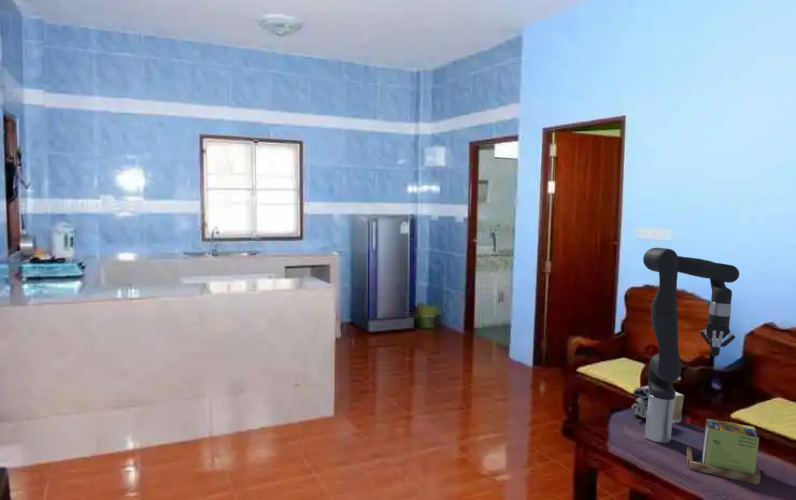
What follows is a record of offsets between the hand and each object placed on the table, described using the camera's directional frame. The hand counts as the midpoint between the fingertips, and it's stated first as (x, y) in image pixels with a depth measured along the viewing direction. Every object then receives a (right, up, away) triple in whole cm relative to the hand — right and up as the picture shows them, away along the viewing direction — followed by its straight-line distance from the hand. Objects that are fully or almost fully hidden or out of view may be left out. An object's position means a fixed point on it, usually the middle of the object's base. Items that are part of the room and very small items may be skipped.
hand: (714, 355), depth 232 cm
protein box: (-12, -35, -29) cm, 47 cm away
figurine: (-24, -30, +12) cm, 40 cm away
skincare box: (-11, -30, +14) cm, 35 cm away
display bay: (-13, -34, -29) cm, 47 cm away
